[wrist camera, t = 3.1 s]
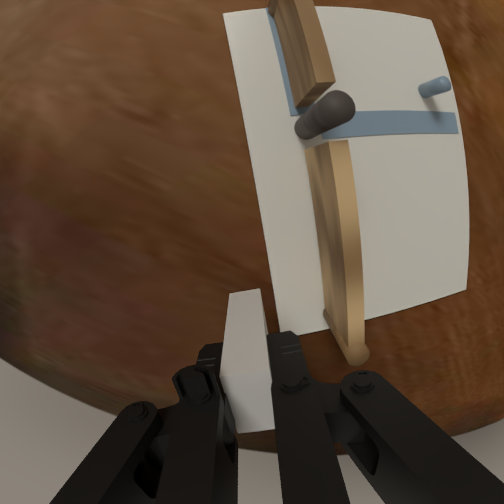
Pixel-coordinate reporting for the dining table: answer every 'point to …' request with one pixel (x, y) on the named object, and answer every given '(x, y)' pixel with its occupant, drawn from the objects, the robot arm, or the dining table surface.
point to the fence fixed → (309, 68)
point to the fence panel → (339, 245)
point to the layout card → (359, 160)
